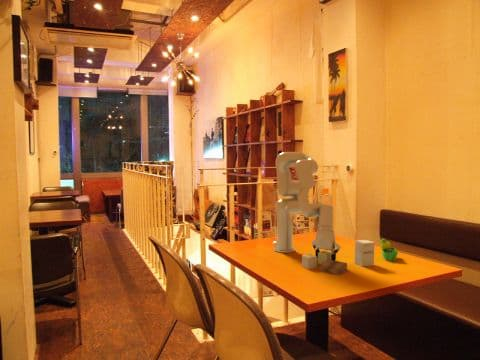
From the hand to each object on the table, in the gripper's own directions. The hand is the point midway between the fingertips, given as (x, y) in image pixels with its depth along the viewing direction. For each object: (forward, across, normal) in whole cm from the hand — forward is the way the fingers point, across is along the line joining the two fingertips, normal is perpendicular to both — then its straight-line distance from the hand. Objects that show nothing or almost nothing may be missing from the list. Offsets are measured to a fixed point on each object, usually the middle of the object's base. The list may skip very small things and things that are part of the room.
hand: (325, 259), depth 204 cm
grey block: (+2, -2, -12) cm, 12 cm away
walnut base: (+3, +10, -8) cm, 13 cm away
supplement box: (+3, +16, +13) cm, 21 cm away
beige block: (+2, 0, 0) cm, 2 cm away
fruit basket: (+3, +20, +34) cm, 39 cm away
